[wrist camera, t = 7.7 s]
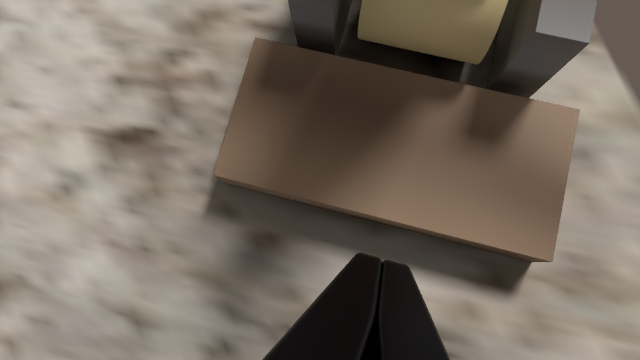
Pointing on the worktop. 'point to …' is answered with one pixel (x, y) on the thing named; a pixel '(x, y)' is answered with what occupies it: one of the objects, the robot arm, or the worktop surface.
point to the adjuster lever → (433, 26)
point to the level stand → (414, 131)
